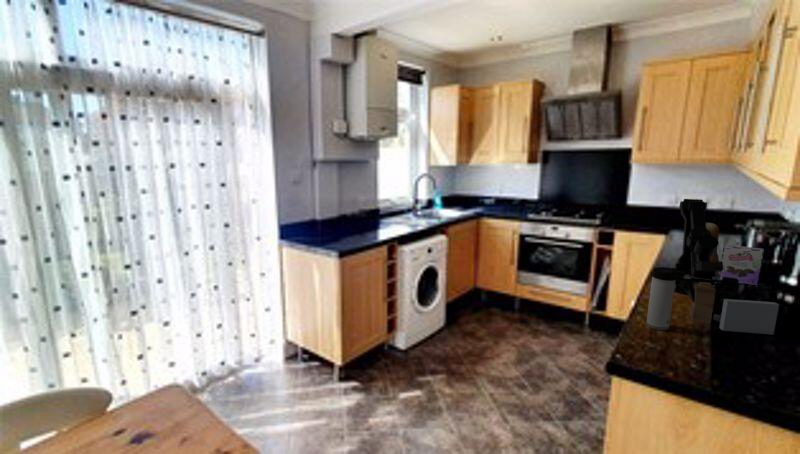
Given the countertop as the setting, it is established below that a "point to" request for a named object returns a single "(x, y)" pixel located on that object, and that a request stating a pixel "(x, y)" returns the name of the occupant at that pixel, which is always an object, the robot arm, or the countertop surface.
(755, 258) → the candy box
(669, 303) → the travel mug
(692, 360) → the countertop surface
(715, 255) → the butternut squash
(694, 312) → the brown box with handle
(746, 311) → the grey stool
